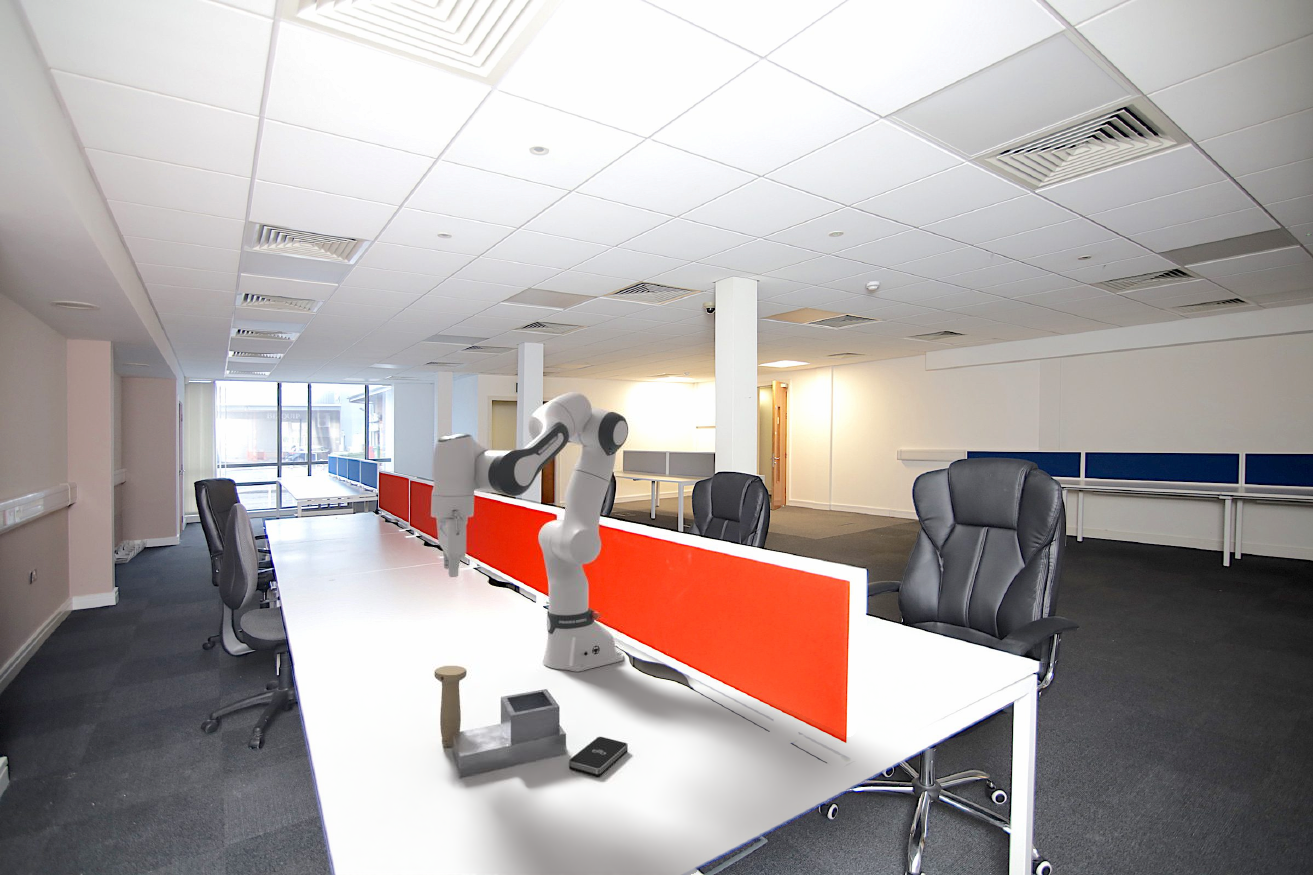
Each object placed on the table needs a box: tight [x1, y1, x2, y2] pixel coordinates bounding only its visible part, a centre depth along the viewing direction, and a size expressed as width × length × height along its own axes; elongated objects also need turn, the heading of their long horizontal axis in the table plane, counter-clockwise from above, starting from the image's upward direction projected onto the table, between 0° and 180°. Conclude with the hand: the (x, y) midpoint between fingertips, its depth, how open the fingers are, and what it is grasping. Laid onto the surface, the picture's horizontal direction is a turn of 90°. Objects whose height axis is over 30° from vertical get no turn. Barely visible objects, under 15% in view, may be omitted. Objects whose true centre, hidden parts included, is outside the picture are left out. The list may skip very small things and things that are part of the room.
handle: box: [434, 665, 467, 749], centre depth 125 cm, size 5×6×15 cm
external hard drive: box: [568, 736, 629, 779], centre depth 118 cm, size 7×11×2 cm, turn 153°
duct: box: [452, 688, 567, 779], centre depth 121 cm, size 20×10×10 cm, turn 115°
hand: (450, 572), depth 133 cm, fingers open, 8 cm apart
